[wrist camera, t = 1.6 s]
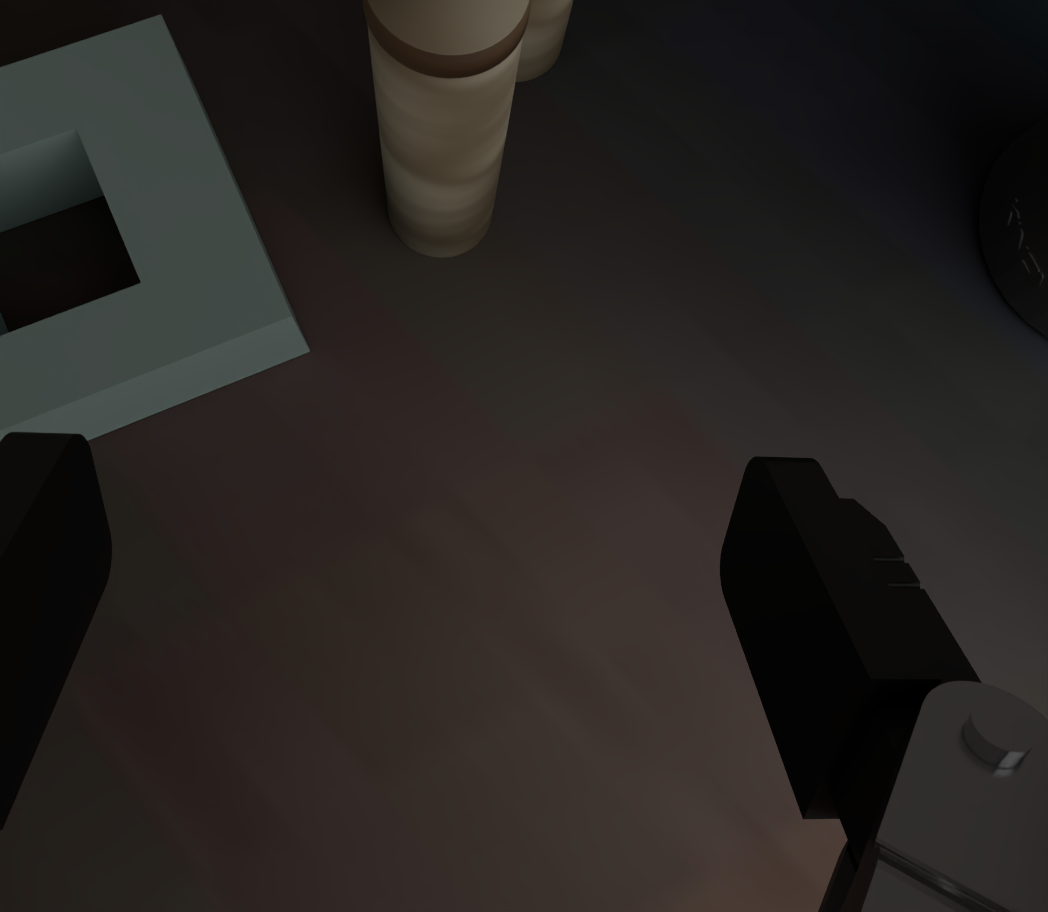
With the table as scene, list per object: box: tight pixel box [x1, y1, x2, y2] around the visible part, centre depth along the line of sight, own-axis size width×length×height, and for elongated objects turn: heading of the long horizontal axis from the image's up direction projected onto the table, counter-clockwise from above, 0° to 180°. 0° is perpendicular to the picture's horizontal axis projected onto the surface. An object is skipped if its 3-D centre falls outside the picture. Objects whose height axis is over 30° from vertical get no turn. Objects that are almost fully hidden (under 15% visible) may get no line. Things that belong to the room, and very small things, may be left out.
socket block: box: [0, 15, 310, 441], centre depth 27 cm, size 12×10×4 cm
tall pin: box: [362, 0, 532, 258], centre depth 25 cm, size 4×4×12 cm
